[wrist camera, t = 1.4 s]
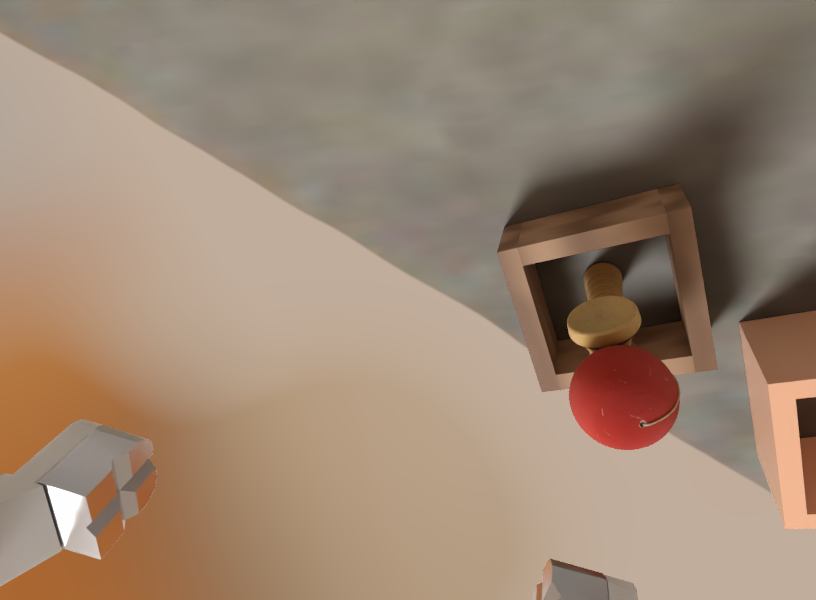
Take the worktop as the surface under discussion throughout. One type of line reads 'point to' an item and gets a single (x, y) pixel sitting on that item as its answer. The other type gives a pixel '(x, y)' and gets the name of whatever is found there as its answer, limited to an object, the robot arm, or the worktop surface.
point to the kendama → (617, 369)
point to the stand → (783, 409)
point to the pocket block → (601, 228)
